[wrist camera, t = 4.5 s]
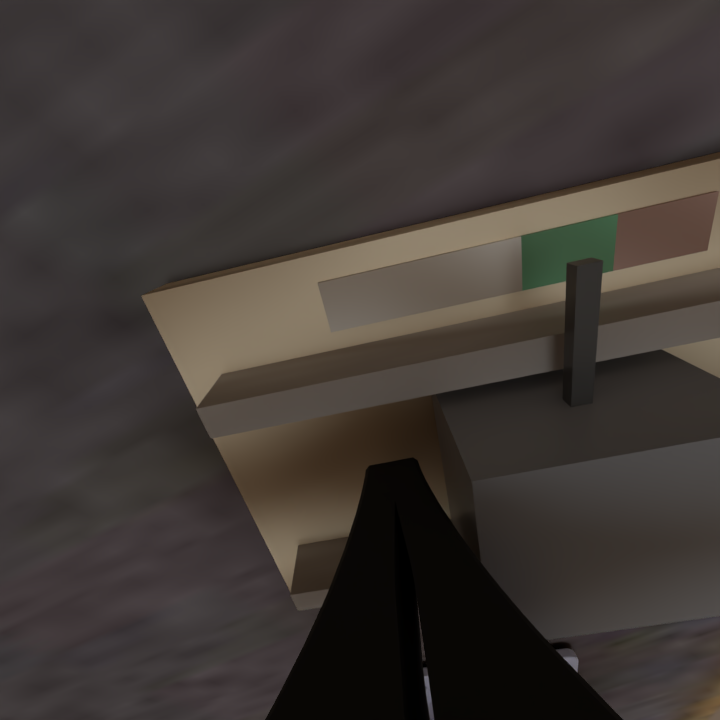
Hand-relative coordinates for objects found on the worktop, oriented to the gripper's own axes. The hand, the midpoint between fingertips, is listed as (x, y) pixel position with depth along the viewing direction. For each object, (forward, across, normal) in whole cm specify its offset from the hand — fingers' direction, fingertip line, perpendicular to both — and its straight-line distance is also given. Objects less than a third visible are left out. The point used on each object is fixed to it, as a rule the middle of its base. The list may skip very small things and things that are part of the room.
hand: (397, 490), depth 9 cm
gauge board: (+2, -5, 0) cm, 5 cm away
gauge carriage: (+1, -4, -1) cm, 4 cm away
